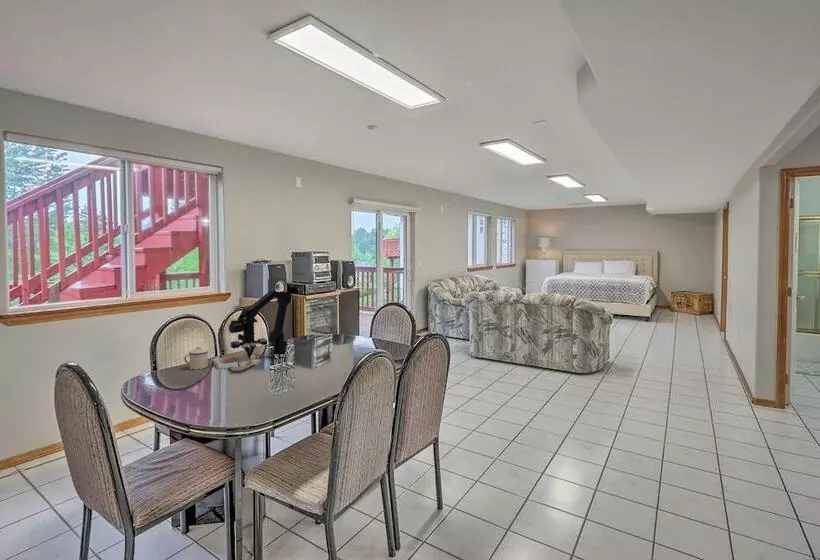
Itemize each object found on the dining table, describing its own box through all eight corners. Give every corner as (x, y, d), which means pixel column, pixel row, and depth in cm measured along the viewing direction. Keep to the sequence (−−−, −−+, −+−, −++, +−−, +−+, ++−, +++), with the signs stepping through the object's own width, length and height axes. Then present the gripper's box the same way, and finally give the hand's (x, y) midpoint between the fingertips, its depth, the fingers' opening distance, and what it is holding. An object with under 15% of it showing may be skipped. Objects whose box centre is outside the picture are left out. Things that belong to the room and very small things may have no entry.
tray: (232, 360, 249) (231, 356, 249) (238, 366, 236) (238, 362, 236) (213, 363, 244) (213, 358, 244) (218, 369, 231) (218, 364, 230)
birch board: (254, 357, 256) (254, 354, 256) (261, 363, 243) (261, 360, 243) (232, 360, 250) (232, 357, 250) (239, 366, 236) (239, 363, 236)
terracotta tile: (231, 359, 247) (230, 355, 247) (233, 360, 243) (232, 357, 242) (222, 361, 244) (221, 358, 244) (224, 363, 240) (223, 360, 240)
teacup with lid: (210, 365, 239) (210, 344, 238) (204, 370, 230) (203, 348, 229) (188, 365, 238) (187, 344, 237) (180, 370, 228) (180, 348, 228)
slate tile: (246, 359, 245) (246, 355, 245) (248, 361, 241) (248, 357, 240) (237, 360, 242) (237, 356, 242) (239, 362, 238) (239, 358, 238)
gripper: (261, 327, 254) (262, 353, 255) (227, 330, 243) (228, 357, 244) (267, 329, 245) (267, 357, 246) (232, 333, 234) (232, 361, 235)
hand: (249, 358), depth 243 cm, fingers closed
